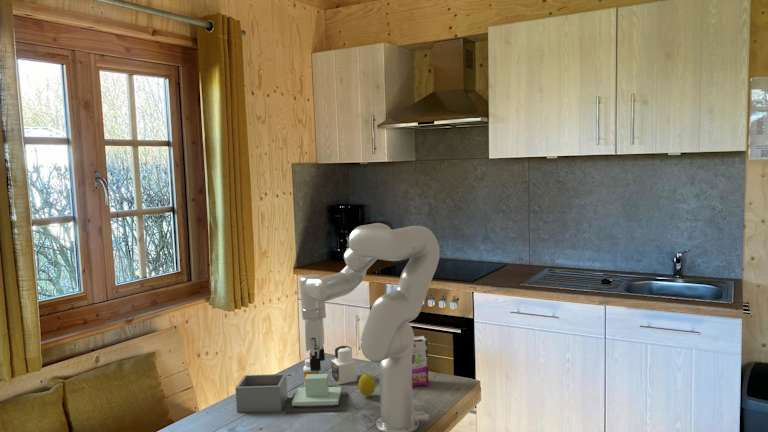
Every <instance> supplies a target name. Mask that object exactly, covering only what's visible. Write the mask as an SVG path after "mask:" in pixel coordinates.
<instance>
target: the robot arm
mask: <svg viewBox="0 0 768 432" xmlns="http://www.w3.org/2000/svg"><path fill="white" fill-rule="evenodd" d="M440 253H441V252H440V245H439V242H438V240H437V238H436V236H435V234H434V233H433V231H432V230H431V229H430V228H427V227H425V226H423V225H410V226H404V227H400V228H394V229H391V227H390V226H389V225H387V224H385V223H380V222H376V223H370V224H364V225H359V226H357V227H355V228H353V230H352V231H351V233H350V234H349V236H348V248H347V249H346V250H345V252H344V254H343V259H344V262H345V267H344V268H343V269H342V270H340V271H339V272H337V273H333V274H332V273H331V274H329V275H326V276H323V275H321V274H317V273H316V274H313V273H312V274H305V275H303V276H301V277H300V279H299V293H300V303H301V304H300V305H301V318H302V320H303V321H305V322H304V333H305V334H304V338H305V340H304V341H305V351H306V352H309V358H310V370H311V371H319V372H320V371H321V370H322V365H321V362H323V361H325V359H326V358H325V357H326V356H325V348H324V344H325V330H324V329H325V328H324V319H326V318H327V314H326V302H328V301H332V300H335V299H337V298H341V297H345V296H347V295H349V294H350V293H352V292H353V291H354V290H355V289H356V288H357V287H358V286H359V285H360V284H361V283H362V282H363V281H364V280H365V278H366V274H367V270H369V268H370V267H371V266H372V265H374V263H375V262H376V261H377V260H382V261H390V262H391V261H392V262H397V261H404V260H407V259H409V260H408V262H407V263H406V265H405V267H404V268H403V269H402V272H401V274H400V278H399V280H398V283H397V284H396V287H395V289H393V290H392V291H390V292H388V293H387V292H386V293H385V294H382V295H380V296H379V297H378V298H376V300H375V301H374V303H373V304H372V306H371V308H370V309H369V310H370V311H369V313H368V315H367V319H366V322H365V325H364V327H363V330H362V332H361V333H362V334H361V338H360V349H361V352H362V355H363V356H364V357H365V358H366V359H367V360H368V361H370V362H374V363H378V362H379V364H378V365H379V370H378V371H379V372H378V373H379V397H380V398H379V400H380V401H379V402H380V403H379V404H380V417H378V418H377V420H376V422H375V427H376V429H377V430H378V431H379V432H414V431H416V430H417V429H418V428H419V426H420V422H421V421H422V422H428V421H430V414H429V413H425V411H424V410H423V411H420V410H419V411H417V410H415V406H414V399H413V398H414V397H413V395H414V393H413V390H414V389H413V387H412V352H413V345H414V337H415V334H414V330H413V327H412V326H411V324H410V323H409V322H412V321H414V320H416V318H417V317H418V316H419V315H420V312H421V310H422V307H423V304H424V302H425V299H426V297H427V294H428V292H429V289H430V286H431V284H432V283H431V282H432V280H433V278H434V275H435V273H436V271H437V267H438V264H439V261H440Z"/></svg>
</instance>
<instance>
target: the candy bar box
mask: <svg viewBox="0 0 768 432" xmlns="http://www.w3.org/2000/svg"><path fill="white" fill-rule="evenodd" d="M423 386H429V365H428V341H427V338H426V337H425V335H420V336H419V335H417V336H415V335H414V345H413V352H412V388H413V387H423Z"/></svg>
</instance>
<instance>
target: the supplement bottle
mask: <svg viewBox="0 0 768 432" xmlns="http://www.w3.org/2000/svg"><path fill="white" fill-rule="evenodd" d="M302 371H303V373H302V374H303V388H305V377H306V375H307V374H320V371H311V370H310V357H309V358H306V359H305V360H304V366H303V370H302Z"/></svg>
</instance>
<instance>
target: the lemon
mask: <svg viewBox="0 0 768 432" xmlns="http://www.w3.org/2000/svg"><path fill="white" fill-rule="evenodd" d="M375 389H376V381H375V379H374V377H373V376H372V375H371V374H369V373H365V374H363V375H361V376H360V378H359V380H358V390H359V392H360V393H361V395H362V396H365V397H366V398H368V397H370V396H371V395H372V394H374V392H375Z"/></svg>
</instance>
